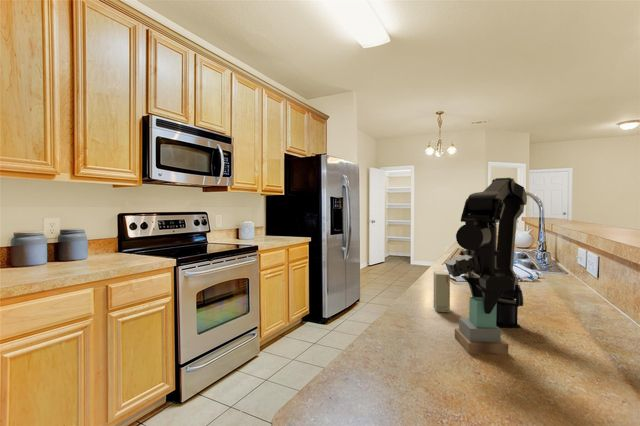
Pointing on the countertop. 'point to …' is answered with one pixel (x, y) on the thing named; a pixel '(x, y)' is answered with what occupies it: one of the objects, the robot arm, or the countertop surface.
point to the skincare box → (441, 291)
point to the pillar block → (481, 314)
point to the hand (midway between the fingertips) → (482, 309)
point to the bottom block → (481, 345)
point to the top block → (479, 332)
